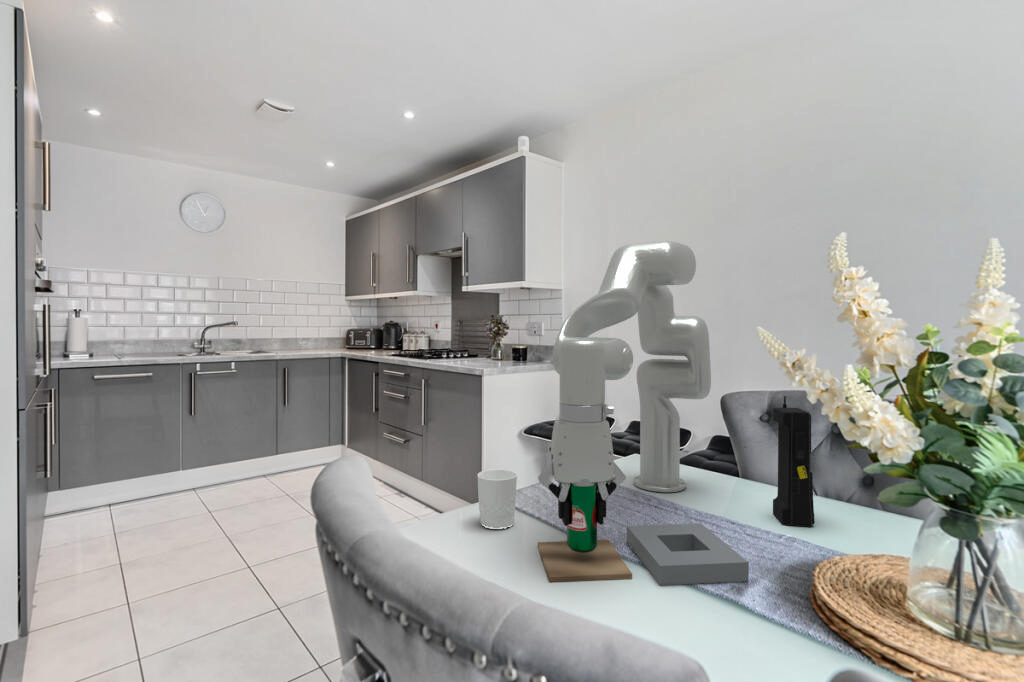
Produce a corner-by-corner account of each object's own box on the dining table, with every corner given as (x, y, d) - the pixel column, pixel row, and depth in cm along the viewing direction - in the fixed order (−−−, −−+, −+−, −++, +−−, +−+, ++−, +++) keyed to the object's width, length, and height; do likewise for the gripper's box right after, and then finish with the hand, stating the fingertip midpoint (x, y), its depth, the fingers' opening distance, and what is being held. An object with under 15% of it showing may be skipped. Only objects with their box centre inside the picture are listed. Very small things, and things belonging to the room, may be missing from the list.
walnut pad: (537, 546, 91) (537, 542, 91) (608, 544, 92) (608, 539, 92) (549, 582, 78) (549, 577, 78) (632, 578, 79) (632, 573, 79)
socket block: (626, 542, 93) (626, 525, 93) (700, 539, 94) (700, 523, 94) (660, 585, 77) (660, 565, 77) (748, 581, 78) (748, 562, 78)
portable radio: (818, 530, 99) (819, 401, 98) (784, 527, 100) (785, 400, 99) (803, 515, 106) (804, 396, 106) (772, 513, 107) (773, 395, 107)
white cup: (469, 523, 102) (469, 473, 102) (500, 514, 107) (500, 467, 107) (493, 535, 96) (493, 482, 96) (525, 525, 101) (525, 475, 101)
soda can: (560, 546, 85) (560, 475, 85) (580, 538, 89) (580, 470, 88) (583, 557, 81) (583, 482, 81) (603, 548, 85) (603, 476, 84)
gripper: (625, 409, 89) (624, 512, 89) (528, 410, 88) (528, 515, 88) (639, 416, 82) (639, 528, 82) (534, 418, 80) (534, 532, 80)
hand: (582, 520), depth 85 cm, fingers closed on soda can, 5 cm apart
